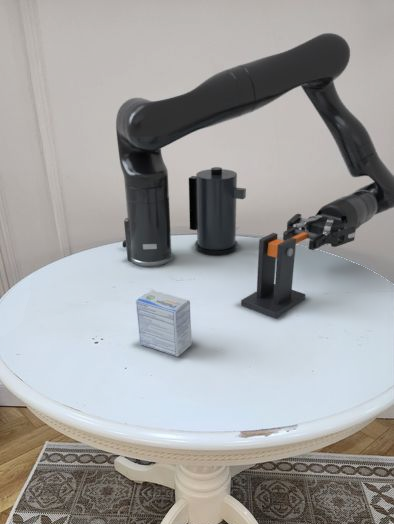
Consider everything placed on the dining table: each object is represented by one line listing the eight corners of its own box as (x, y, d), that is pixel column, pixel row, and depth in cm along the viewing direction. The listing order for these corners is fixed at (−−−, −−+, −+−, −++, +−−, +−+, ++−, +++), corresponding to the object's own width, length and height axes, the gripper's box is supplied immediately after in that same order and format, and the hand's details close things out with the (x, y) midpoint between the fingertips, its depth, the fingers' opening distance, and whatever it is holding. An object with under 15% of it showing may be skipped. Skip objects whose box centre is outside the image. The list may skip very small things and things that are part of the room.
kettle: (183, 251, 125) (180, 171, 115) (200, 237, 133) (199, 161, 123) (235, 259, 120) (237, 176, 111) (249, 244, 128) (253, 165, 118)
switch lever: (296, 236, 105) (297, 225, 104) (318, 242, 102) (320, 230, 101) (260, 253, 98) (261, 241, 96) (283, 260, 95) (284, 247, 93)
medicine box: (192, 345, 89) (191, 299, 85) (177, 358, 86) (175, 311, 82) (154, 333, 93) (151, 288, 88) (138, 345, 90) (134, 299, 85)
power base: (271, 288, 108) (275, 226, 101) (305, 299, 103) (311, 236, 96) (240, 305, 101) (242, 241, 95) (275, 318, 97) (280, 252, 90)
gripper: (313, 192, 113) (267, 214, 103) (377, 206, 105) (333, 231, 95) (310, 226, 118) (265, 250, 107) (371, 241, 110) (329, 269, 99)
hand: (298, 241), depth 101 cm, fingers closed on switch lever, 5 cm apart
